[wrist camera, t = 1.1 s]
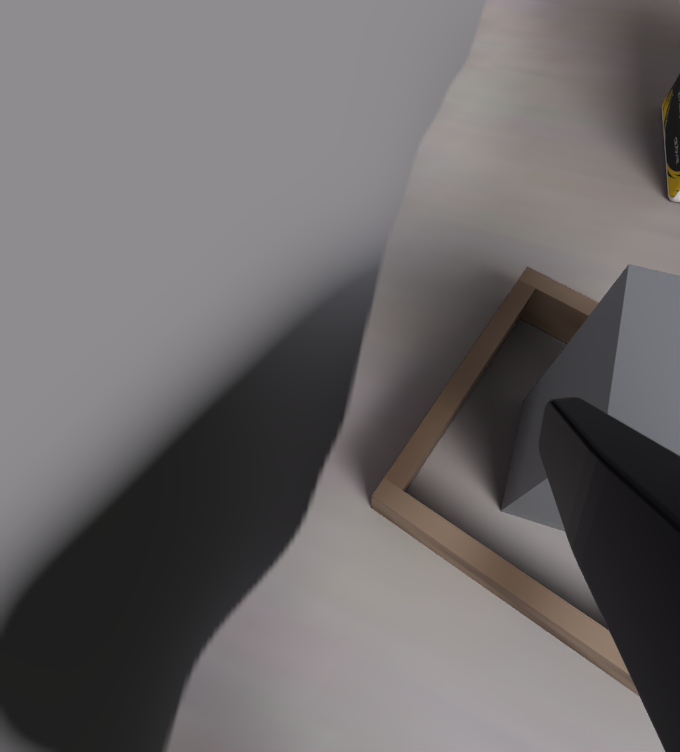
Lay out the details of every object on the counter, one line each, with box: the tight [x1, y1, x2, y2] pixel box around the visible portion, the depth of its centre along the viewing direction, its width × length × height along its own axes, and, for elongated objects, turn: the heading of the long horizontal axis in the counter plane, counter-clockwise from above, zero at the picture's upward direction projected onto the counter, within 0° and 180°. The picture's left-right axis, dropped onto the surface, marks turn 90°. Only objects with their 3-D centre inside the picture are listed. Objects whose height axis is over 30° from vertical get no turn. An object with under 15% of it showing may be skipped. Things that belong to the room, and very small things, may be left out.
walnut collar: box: [371, 267, 639, 695], centre depth 21 cm, size 12×12×2 cm
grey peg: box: [501, 264, 680, 531], centre depth 17 cm, size 5×5×10 cm
